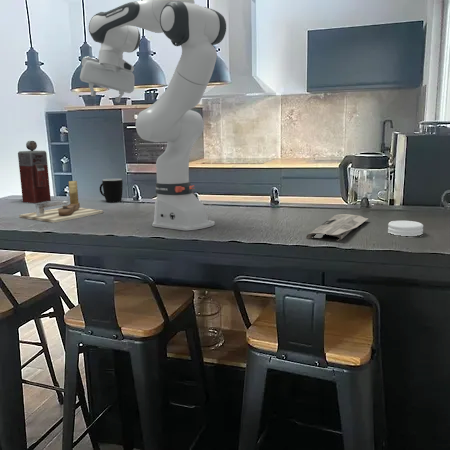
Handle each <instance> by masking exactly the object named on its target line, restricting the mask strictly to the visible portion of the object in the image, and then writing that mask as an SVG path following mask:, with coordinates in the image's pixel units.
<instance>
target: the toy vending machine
mask: <svg viewBox="0 0 450 450" xmlns="http://www.w3.org/2000/svg"><path fill="white" fill-rule="evenodd" d="M25 146H26V149H27V150H22V151H21V150H20V151H18V153H17V158H18V168H19V179H20V187H21V196H22V203H27V202H28V204H39V203H46V202H52V201H51V189H50V177H49V164H48V154H47V151H46V150H36V149H37V148H38V147H37V146H38V144H37V142H36V141H34V140H28V141H27V142H26V144H25Z"/></svg>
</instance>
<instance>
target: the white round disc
mask: <svg viewBox="0 0 450 450" xmlns="http://www.w3.org/2000/svg"><path fill="white" fill-rule="evenodd" d="M387 226H388V228H387V234H388V233H391V234H394V235H401V236H417V235H421V234H424V233H423V232H424V224H423V223H422V222H419V221H414V220H413V221H412V220H392V221H390V222H388V224H387Z"/></svg>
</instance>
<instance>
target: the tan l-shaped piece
mask: <svg viewBox="0 0 450 450" xmlns="http://www.w3.org/2000/svg"><path fill="white" fill-rule="evenodd" d="M78 189H79V188H78V181H77V180H71V181H70V180H69V181H68V192H69V203H68V204H67V207H68V208H62V207H58V208H59V209H58V213H59V215H69V214H72V212H73V211H75V210H77V209H79V208H81V206H80V202H79V194H78V193H79V192H78V191H79V190H78Z"/></svg>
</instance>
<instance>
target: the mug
mask: <svg viewBox="0 0 450 450" xmlns="http://www.w3.org/2000/svg"><path fill="white" fill-rule="evenodd" d="M123 188H124V185H123V178H105V179H102V181H101V184H100V186H99V193H100V194H101V195H102V196H103V197H104V199H105V201H106V203H111V204H112V203H120V202H121V201H122V198H123ZM102 189H103V190H102Z"/></svg>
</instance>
